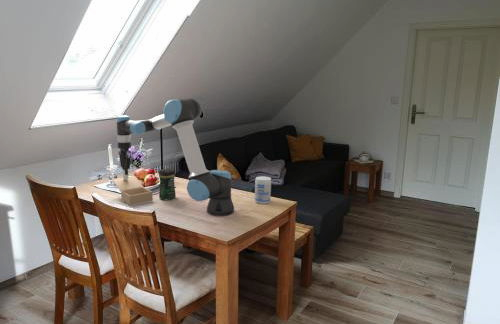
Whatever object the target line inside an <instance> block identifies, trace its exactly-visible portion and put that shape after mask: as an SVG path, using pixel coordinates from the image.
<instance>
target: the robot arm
mask: <svg viewBox="0 0 500 324" xmlns="http://www.w3.org/2000/svg"><path fill="white" fill-rule="evenodd" d="M202 108H203V107H202V104H201V103H200V101H198V100H197V99H195V98H174V99H170V100H168V101H167V102H166V103H165V105H164V107H163V111H162V112H163V113H162V114H160V115H158V116H157V115H156V116H155V117H153V118H150V119H142V120H141V119H139V120H131V117H130V116H129V115H119V116H116V131H117V132H116V133H117V135H116V140H117V149H120V150H119V151H118V155H119V163H120V167H121V169H122V178H123V180H128V177H129V170H130V169H131V159H132V158H131V157H132V154H130V151H129V149H131V147H132V143H131V137H132V135H131V134H134V135H135V136H137V135H138V136H139V135H142V134H144V133H151V132H159V131H160V130H161V129H164V128H167V127H172V129H174V130H176V134H177V136H178V139H179V142H180V146H181V149H182V152H183V155H184V156H183V157H184V158H185V163H186V165H187V168H188V171H189V176H188V182H187V184H186V190H187V194H188V195H189V197H190V198H191V199H192V200H194V201H196V202H202V201H206V200H208V199H209V200H208V203H207V206H206V213H207V214H208V215H210V216H216V217H222V216H223V217H224V216H229V215H232V214H234V212H235V206H234V203H233V200H232V173H231V172H230V171H227V170H221V169H213V170H212V169H211V170H208V169H207V167H206V165H205V162H204V158H203V155H202V152H201V149H200V145H199V143H198V140H197V136H196V133H195V130H194V126H193V124H194V123H195V120H197V119H198V118H200V117H201V116H202V111H203V109H202Z"/></svg>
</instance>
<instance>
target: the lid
mask: <svg viewBox="0 0 500 324" xmlns="http://www.w3.org/2000/svg"><path fill="white" fill-rule="evenodd" d="M112 182H113V183H114V185H115V186H116V187H117V188H118V190H119V191H120V192H121V191H125V190H130V189H136V188H141V187H144V186H143V184H142V183H141V181H140V180H138V178H137V176H135V175H133V176H128V180H123V177H119V178H113V179H112Z"/></svg>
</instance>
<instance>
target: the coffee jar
mask: <svg viewBox="0 0 500 324" xmlns="http://www.w3.org/2000/svg"><path fill="white" fill-rule="evenodd" d="M175 176H176V170H175V168H172V167H167V168H162V169H159V171H158V177H159V190H158V192H159V194H158V198H159V199H160V200H162V201H169V200H172V199H175V198H176V197H177V196H176V188H175V187H176V186H175V185H176V184H175Z"/></svg>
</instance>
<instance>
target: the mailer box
mask: <svg viewBox="0 0 500 324" xmlns="http://www.w3.org/2000/svg"><path fill="white" fill-rule="evenodd" d="M120 194H121V195H120V196H121V197H120V198H121V202H122V203H125V204H126V205H127V206H130V207H133V206H137V205H141V204H147V203H152V202H153V200H154V199H153V197H154V195H153V191H151V190H150V189H148V188H145V187H144V186H143V187H141V188H136V189H130V190H125V191H120Z"/></svg>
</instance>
